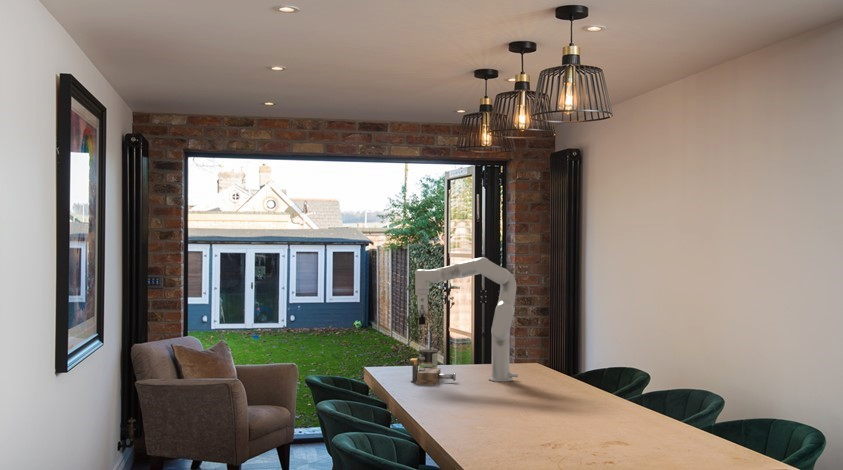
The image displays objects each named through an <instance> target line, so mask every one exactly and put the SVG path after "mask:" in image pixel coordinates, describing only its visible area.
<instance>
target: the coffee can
mask: <svg viewBox="0 0 843 470" xmlns="http://www.w3.org/2000/svg"><path fill="white" fill-rule="evenodd" d="M418 352H419V353H418V354H419V357H418V359H419V361H418V370H419V369H420V368H438V350H437V349H431V348H430V349H429V348H428V349H419V350H418Z"/></svg>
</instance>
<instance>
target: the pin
mask: <svg viewBox="0 0 843 470" xmlns="http://www.w3.org/2000/svg"><path fill="white" fill-rule="evenodd" d="M456 375H457V374H456V372H453V374H452V373H451V374H450V373H440V374H438V379H440V380H452V381H456V379H457V376H456Z"/></svg>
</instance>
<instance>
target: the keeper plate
mask: <svg viewBox="0 0 843 470" xmlns="http://www.w3.org/2000/svg"><path fill="white" fill-rule="evenodd" d="M418 359H419V357H417V358H416V357H415V358H413V357H412V358H410V359H409V362H413V365H416V370H417V363H418Z"/></svg>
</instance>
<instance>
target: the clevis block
mask: <svg viewBox="0 0 843 470" xmlns="http://www.w3.org/2000/svg"><path fill="white" fill-rule="evenodd" d="M411 368H412V373H411V374H412V379H411V381H410V383H411V382H412V383H414V384H416V385H426V386H427V385H428V386H437V385H438V383H439V382H440V381H441V379H438V374H442V373H441V371H442V370H441V368H440V367H437V368H420V369H419V362H417V370H416V365H414V364H413V365H412V367H411Z"/></svg>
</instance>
